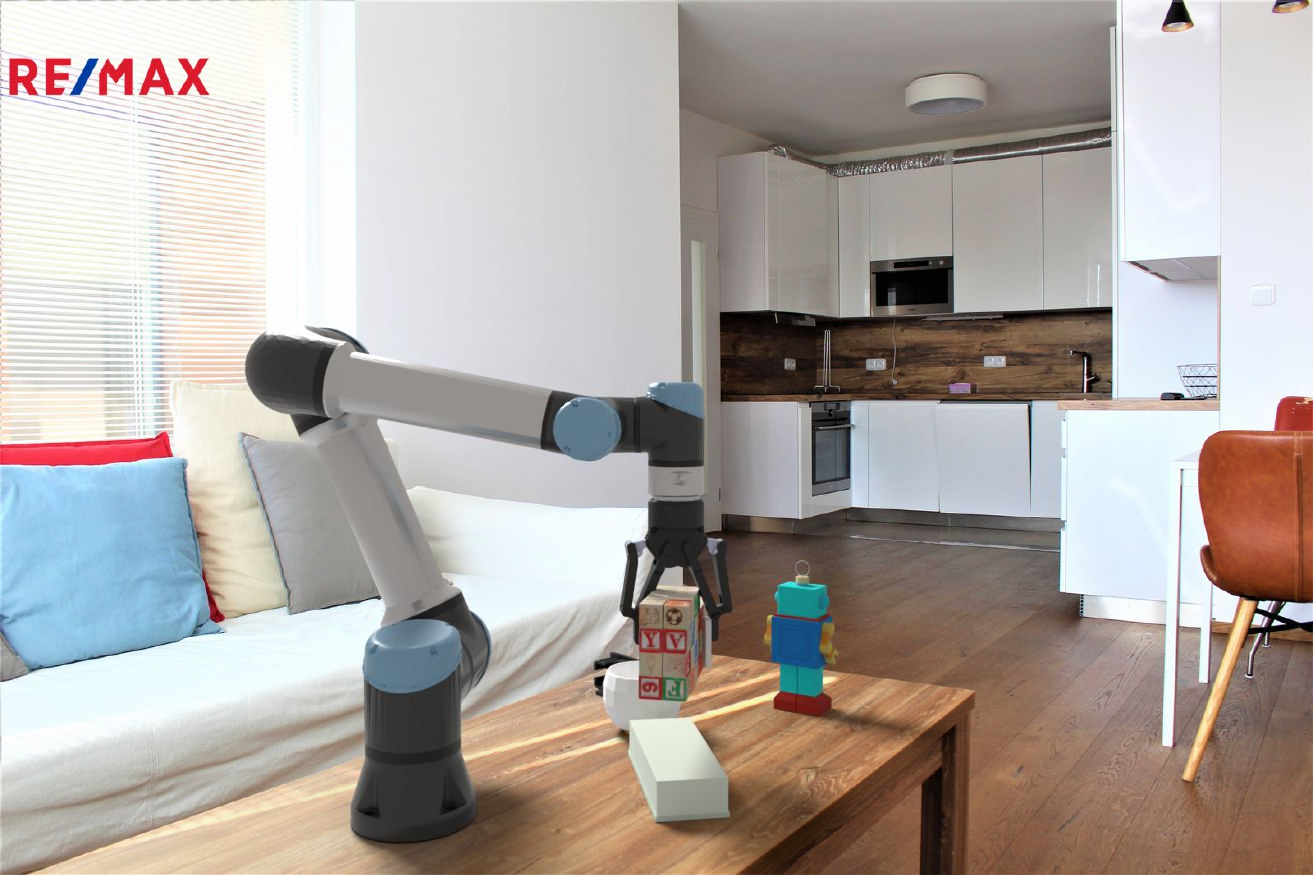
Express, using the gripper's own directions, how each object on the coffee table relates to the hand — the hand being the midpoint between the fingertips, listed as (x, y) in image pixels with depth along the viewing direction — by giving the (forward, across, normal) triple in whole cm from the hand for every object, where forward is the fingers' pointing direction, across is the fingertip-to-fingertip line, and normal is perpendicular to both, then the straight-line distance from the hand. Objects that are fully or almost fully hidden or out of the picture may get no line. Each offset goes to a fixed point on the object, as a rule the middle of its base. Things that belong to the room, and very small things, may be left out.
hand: (676, 666), depth 139 cm
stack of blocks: (+2, 0, +1) cm, 2 cm away
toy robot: (+16, +27, +29) cm, 43 cm away
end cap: (+16, -1, +41) cm, 44 cm away
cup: (+16, -1, +22) cm, 27 cm away
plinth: (+16, 0, 0) cm, 16 cm away
